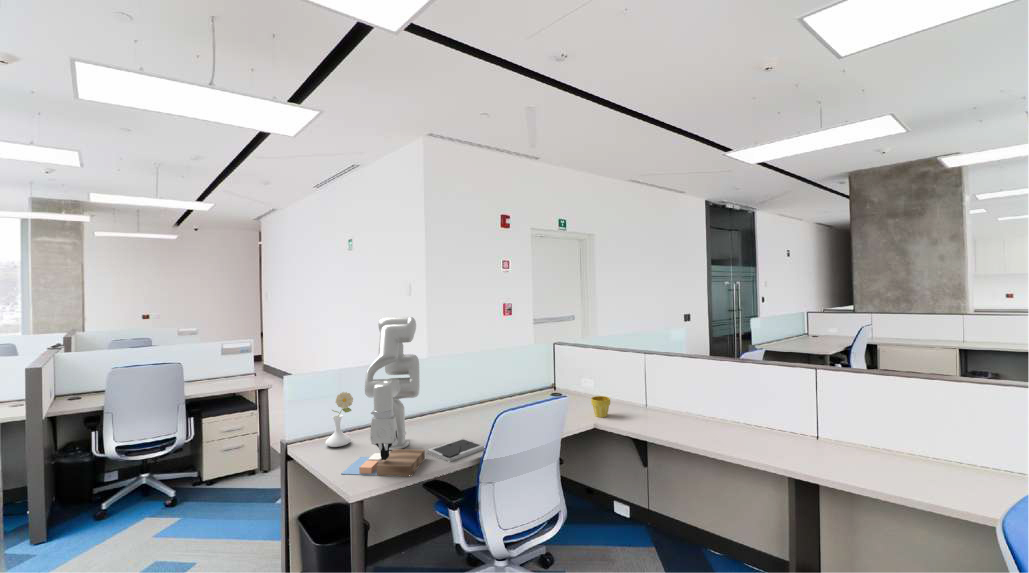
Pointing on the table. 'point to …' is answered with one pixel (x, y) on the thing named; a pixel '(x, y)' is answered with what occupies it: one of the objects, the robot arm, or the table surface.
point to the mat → (357, 467)
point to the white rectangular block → (376, 457)
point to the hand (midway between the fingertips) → (384, 458)
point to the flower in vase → (338, 436)
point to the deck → (401, 462)
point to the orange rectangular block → (368, 467)
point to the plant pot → (600, 405)
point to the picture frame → (456, 449)
